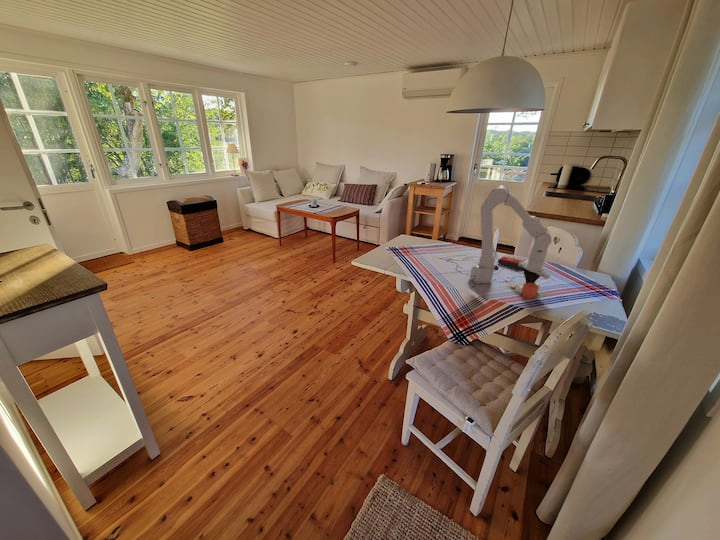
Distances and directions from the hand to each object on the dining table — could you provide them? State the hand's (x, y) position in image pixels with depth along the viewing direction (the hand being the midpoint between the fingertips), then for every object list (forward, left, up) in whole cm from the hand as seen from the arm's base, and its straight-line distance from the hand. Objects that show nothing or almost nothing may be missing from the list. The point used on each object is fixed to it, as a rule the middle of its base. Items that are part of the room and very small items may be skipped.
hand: (528, 286), depth 129 cm
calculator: (+18, +26, -3) cm, 31 cm away
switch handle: (0, -2, -1) cm, 3 cm away
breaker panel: (-2, -1, -2) cm, 3 cm away
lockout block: (-5, -5, -1) cm, 7 cm away
